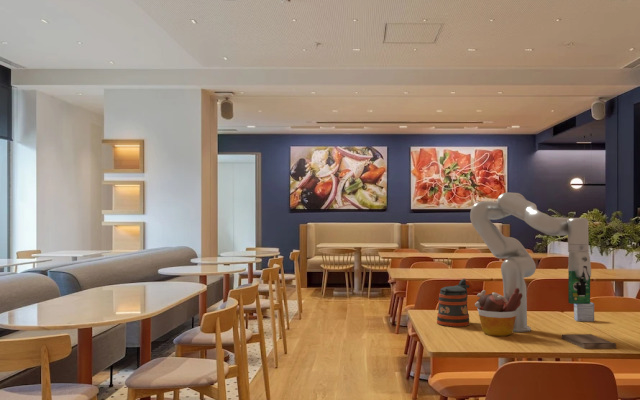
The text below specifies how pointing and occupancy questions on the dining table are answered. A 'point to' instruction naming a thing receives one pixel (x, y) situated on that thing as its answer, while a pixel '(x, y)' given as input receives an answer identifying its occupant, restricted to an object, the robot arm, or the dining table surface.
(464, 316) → the beer stein
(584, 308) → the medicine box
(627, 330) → the dining table surface
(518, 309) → the robot arm
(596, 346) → the walnut board
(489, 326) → the bucket of meat
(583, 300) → the coffee box
